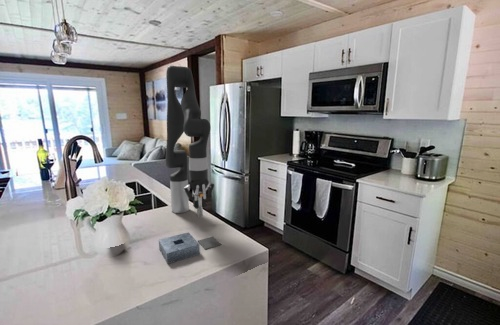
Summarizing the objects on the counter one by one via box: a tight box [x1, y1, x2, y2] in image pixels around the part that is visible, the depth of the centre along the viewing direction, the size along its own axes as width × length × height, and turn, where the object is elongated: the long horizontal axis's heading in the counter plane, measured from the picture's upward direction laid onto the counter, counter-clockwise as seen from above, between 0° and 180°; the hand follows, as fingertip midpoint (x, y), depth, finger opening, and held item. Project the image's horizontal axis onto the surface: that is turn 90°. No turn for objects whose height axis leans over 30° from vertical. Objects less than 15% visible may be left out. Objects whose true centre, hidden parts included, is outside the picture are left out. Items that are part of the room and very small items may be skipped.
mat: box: [197, 236, 222, 250], centre depth 106 cm, size 8×7×1 cm
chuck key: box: [196, 191, 204, 218], centre depth 110 cm, size 5×2×11 cm, turn 32°
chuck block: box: [158, 232, 201, 265], centre depth 99 cm, size 12×12×4 cm
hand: (199, 207), depth 110 cm, fingers closed on chuck key, 2 cm apart
